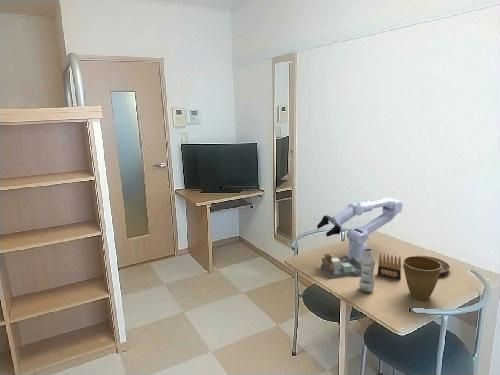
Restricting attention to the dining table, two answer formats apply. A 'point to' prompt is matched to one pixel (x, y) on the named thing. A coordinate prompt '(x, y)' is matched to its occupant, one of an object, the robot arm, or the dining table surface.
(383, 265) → the ammunition clip
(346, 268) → the pale mint cube
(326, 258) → the walnut mallet
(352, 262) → the tray
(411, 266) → the plant pot
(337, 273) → the charcoal board
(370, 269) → the plastic bottle
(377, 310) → the dining table surface
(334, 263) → the matte white cube
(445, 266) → the plant saucer
